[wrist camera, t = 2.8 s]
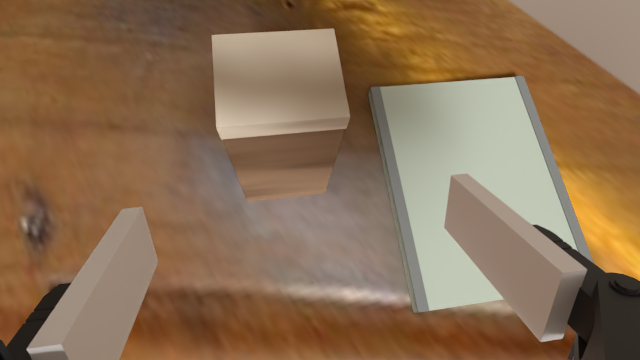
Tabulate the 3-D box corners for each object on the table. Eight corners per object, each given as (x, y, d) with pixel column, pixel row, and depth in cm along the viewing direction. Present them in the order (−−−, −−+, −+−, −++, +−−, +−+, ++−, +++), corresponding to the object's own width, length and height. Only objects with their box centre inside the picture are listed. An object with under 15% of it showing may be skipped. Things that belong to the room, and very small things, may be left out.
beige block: (242, 141, 29) (211, 35, 18) (316, 135, 30) (334, 28, 18) (246, 202, 27) (216, 127, 16) (325, 193, 28) (350, 116, 17)
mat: (367, 94, 31) (370, 87, 30) (516, 82, 33) (523, 75, 32) (413, 312, 26) (418, 312, 25) (589, 285, 27) (601, 284, 26)
